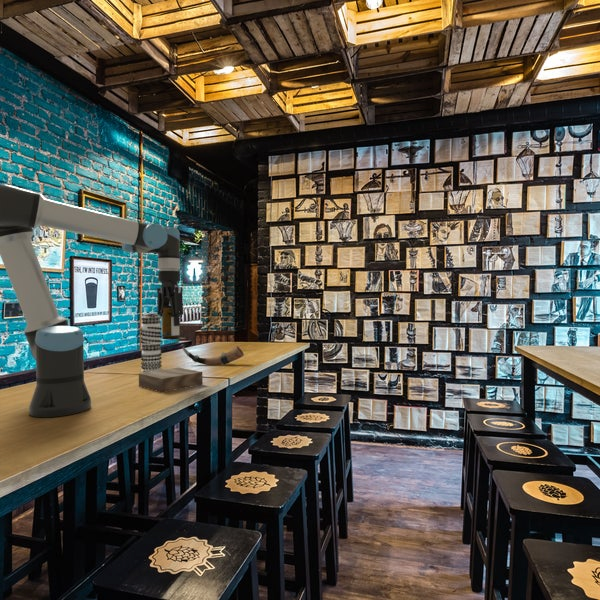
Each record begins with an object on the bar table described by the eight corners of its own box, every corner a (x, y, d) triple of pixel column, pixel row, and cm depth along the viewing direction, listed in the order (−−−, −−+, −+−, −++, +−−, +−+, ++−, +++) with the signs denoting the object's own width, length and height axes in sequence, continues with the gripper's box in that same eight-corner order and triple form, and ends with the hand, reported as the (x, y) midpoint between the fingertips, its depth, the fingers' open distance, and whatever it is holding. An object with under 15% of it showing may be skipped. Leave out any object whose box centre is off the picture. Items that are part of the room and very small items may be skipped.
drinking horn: (243, 365, 191) (243, 344, 191) (178, 366, 191) (178, 344, 191) (244, 363, 197) (244, 342, 197) (182, 364, 197) (181, 343, 197)
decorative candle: (166, 368, 186) (165, 312, 186) (156, 372, 177) (155, 313, 177) (147, 368, 187) (146, 313, 187) (136, 371, 178) (135, 313, 178)
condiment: (176, 337, 154) (176, 305, 154) (186, 338, 148) (185, 305, 148) (157, 338, 150) (156, 305, 150) (166, 340, 143) (166, 305, 143)
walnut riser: (162, 393, 138) (162, 378, 138) (138, 387, 149) (138, 373, 149) (202, 385, 150) (202, 371, 150) (178, 380, 161) (178, 367, 161)
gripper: (193, 269, 146) (194, 335, 146) (164, 272, 158) (165, 332, 158) (174, 268, 140) (175, 337, 140) (146, 271, 153) (147, 334, 153)
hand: (170, 334), depth 149 cm, fingers closed on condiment, 6 cm apart
